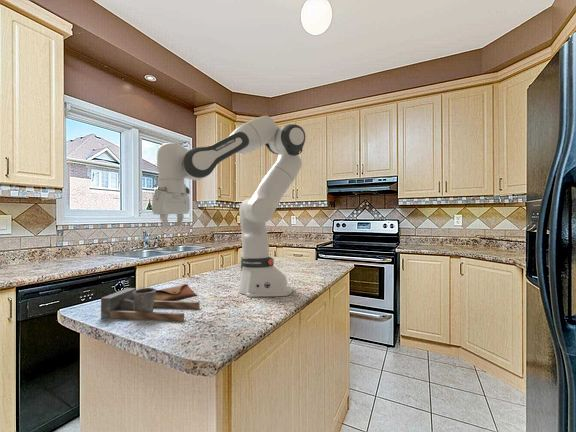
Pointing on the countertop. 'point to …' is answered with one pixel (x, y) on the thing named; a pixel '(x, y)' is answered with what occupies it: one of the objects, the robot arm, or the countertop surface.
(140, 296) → the pipe
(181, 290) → the sunglasses case
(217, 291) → the countertop surface
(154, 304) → the channel
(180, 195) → the robot arm
